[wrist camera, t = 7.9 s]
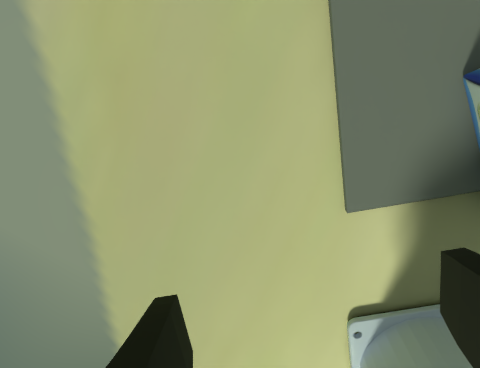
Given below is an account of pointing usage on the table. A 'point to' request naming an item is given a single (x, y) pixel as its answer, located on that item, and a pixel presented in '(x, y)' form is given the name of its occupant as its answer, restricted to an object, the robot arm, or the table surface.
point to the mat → (405, 99)
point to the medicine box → (474, 98)
